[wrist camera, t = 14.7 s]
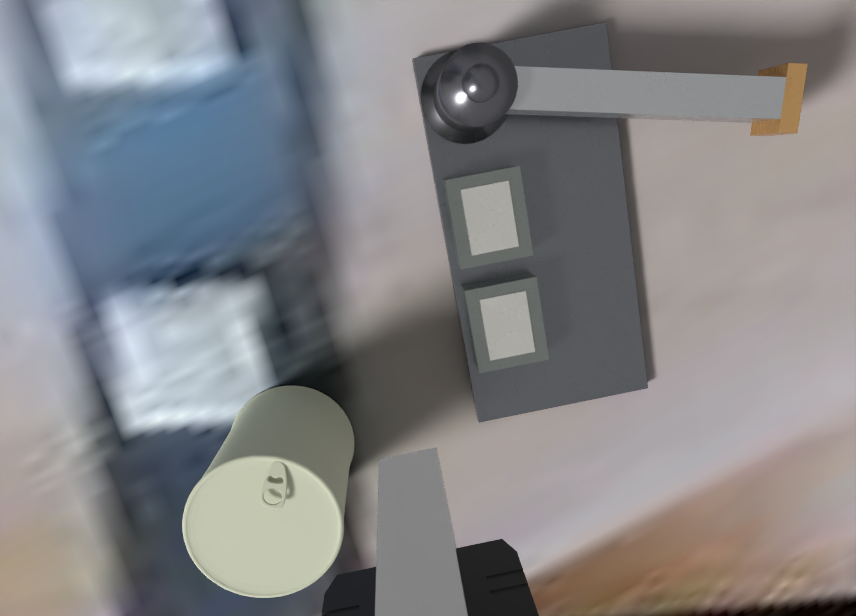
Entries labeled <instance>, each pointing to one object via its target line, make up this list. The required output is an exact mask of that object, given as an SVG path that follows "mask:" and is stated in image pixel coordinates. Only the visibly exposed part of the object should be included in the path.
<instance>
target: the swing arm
mask: <svg viewBox="0 0 856 616" xmlns="http://www.w3.org/2000/svg"><path fill="white" fill-rule="evenodd" d="M807 65H808V64H802V63H786V64H783V65H779V66H775V67H772V68H768V69H764V70H760V71H759V74H758V76H746V75H721V74H696V73H672V72H647V71H622V70H597V69H573V68H548V67H523V66H514V64H513V63H512V61H511V59H510V58H509V57H508V55H507V54H506V53H505V52H503V51H502V50H501V49H499V48H498V47H496V46H493V45H491V44H487V43H473V44H469V45H466V46H464V47H462V48H460V49H459V50H457V51H456V52H455V53H454V54H453V55H452V56H451V57H450V58H449V60H448V61H447V63H446V65H445V66H444V68H443V70H442V72H441V74H440V75H439V77H438V79H437V81H436V84H435V87H434V93H433V100H434V106H435V109H436V111H437V113H438V115H439V117H440V118H441V119H442V120H443V121H444V122H445V123H446V124H447V125H448V126H450V127H452V128H454V129H456V130H460V131H472V130H476V129H479V128H481V127H483V126H485V125H488V124H490V123H492V122H494V121H496V120H498V119H499V118H501V117H502V116H503V115H505V114H516V115H544V116H573V117H602V118H631V119H659V120H688V121H717V122H745V123H752V126H751V134H750V135H753V136H773V135H784V134H795V133H797V132H798V126H799V119H800V112H801V105H802V99H803V92H804V85H805V79H806V72H807Z"/></svg>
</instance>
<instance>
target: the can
mask: <svg viewBox="0 0 856 616" xmlns="http://www.w3.org/2000/svg"><path fill="white" fill-rule="evenodd" d="M353 454H354V434H353V429H352V426H351V424H350V421H349V419H348V417H347V416H346V414H345V412H344V411H343V410H342V408H341V407H340V406H339V405H338V404H337V403H336V402H335V401H333V400H332V399H331V398H330V397H328V396H327V395H325V394H323V393H321V392H319V391H317V390H314V389H311V388H308V387H303V386H292V385H289V386H280V387H275V388H271V389H269V390H266V391H264V392H262V393H260V394H258V395H256V396H255V397H253V398H252V399H251V400H250V401H248V402H247V403H246V404H245V405H244V407H243V408H242V409H241V410H240V412H239V413H238V415H237V416H236V418H235V420H234V423H233V425H232V429H231V431H230V433H229V435H228V436H227V438H226V440H225V441H224V443H223V445H222V446H221V448H220V450H219V451H218V453H217V455H216V456H215V458H214V460H213V461H212V463H211V464H210V466H209V468H208V469H207V471H206V472H205V474H204V475H203V477H202V478H201V480H200V481H199V482H198V483H197V484H196V486H195V487H194V489H193V490H192V492H191V494H190V496H189V498H188V500H187V503H186V505H185V509H184V514H183V523H182V528H183V536H184V541H185V544H186V548H187V550H188V552H189V554H190V557H191V558H192V560H193V561H194V563H195V564H196V566H197V567H198V568H199V569H200V571H201V572H202V573H203V574H204V575H205V576H207V577H208V578H209V579H210V580H211V581H213V582H214V583H216V584H217V585H219V586H221V587H222V588H224V589H226V590H229V591H231V592H234V593H237V594H240V595H244V596H249V597H257V598H271V597H279V596H284V595H288V594H291V593H294V592H297V591H299V590H301V589H303V588H305V587H307V586H309V585H310V584H312V583H314V582H315V581H316V580H317V579H319V578H320V577H321V576H322V575H323V574H324V573H325V572H326V571H327V570H328V569H329V567H330V566H331V565H332V563H333V562H334V560H335V558H336V556H337V554H338V552H339V550H340V547H341V544H342V539H343V534H344V509H345V500H346V491H347V483H348V475H349V468H350V464H351V461H352V458H353Z"/></svg>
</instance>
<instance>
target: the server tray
mask: <svg viewBox="0 0 856 616" xmlns="http://www.w3.org/2000/svg"><path fill="white" fill-rule="evenodd" d="M491 45H493V46H496V47H498V48H499V49H501V50H502V51H503V52H505V53H506V54H507V55H508V57H509V58H510V59H511V61H512V63H513V64H514V66H523V67H548V68H573V69H597V70H612V68H611V59H610V50H609V41H608V33H607V24H606V22H604V23H599V24H593V25H588V26H583V27H578V28H572V29H567V30H562V31H556V32H551V33H546V34H540V35H535V36H530V37H525V38H519V39H514V40H509V41H503V42H498V43H493V44H491ZM456 51H457V50H454V51H451V52H445V53H440V54H435V55H429V56H424V57H419V58H413V60H412V62H413V67H414V73H415V78H416V84H417V89H418V95H419V100H420V106H421V111H422V117H423V122H424V128H425V133H426V139H427V144H428V150H429V155H430V161H431V166H432V172H433V177H434V183H435V188H436V194H437V199H438V205H439V210H440V216H441V221H442V227H443V232H444V238H445V243H446V249H447V254H448V260H449V265H450V271H451V276H452V281H453V287H454V292H455V298H456V303H457V309H458V314H459V320H460V325H461V331H462V336H463V342H464V347H465V353H466V358H467V364H468V369H469V375H470V380H471V386H472V391H473V397H474V402H475V408H476V413H477V419H478V421H479V422H484V421H489V420H493V419H498V418H503V417H508V416H513V415H518V414H523V413H528V412H533V411H538V410H543V409H548V408H552V407H557V406H562V405H567V404H572V403H577V402H582V401H587V400H592V399H597V398H602V397H606V396H611V395H616V394H621V393H626V392H631V391H636V390H641V389H646V388H648V385H647V376H646V367H645V359H644V350H643V341H642V332H641V323H640V315H639V306H638V297H637V288H636V279H635V270H634V262H633V253H632V244H631V235H630V226H629V218H628V209H627V200H626V191H625V182H624V174H623V165H622V156H621V147H620V138H619V130H618V121H617V118H602V117H573V116H544V115H516V114H505V115H503V116H502V117H501V118H499V119H498V120H496V121H494V122H492V123H490V124H488V125H485V126H483V127H481V128H479V129H476V130H472V131H460V130H456V129H454V128H452V127H450V126H448V125H447V124H446V123H445V122H444V121H443V120H442V119H441V118H440V117H439V115H438V113H437V111H436V109H435V106H434V100H433V93H434V87H435V84H436V81H437V79H438V77H439V75H440V74H441V72H442V70H443V68H444V66H445V65H446V63H447V61H448V60H449V58H450V57H451V56H452V55H453V54H454V53H455V52H456Z"/></svg>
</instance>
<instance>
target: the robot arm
mask: <svg viewBox="0 0 856 616" xmlns="http://www.w3.org/2000/svg"><path fill="white" fill-rule="evenodd" d="M322 616H539V615H538V612H537V609H536V606H535V603H534V600H533V597H532V595H531V592H530V589H529V587H528V583H527V580H526V577H525V574H524V572H523V568H522V565H521V563H520V560H519V557H518V554H517V551H515V550H514V549H513V548H512V547H511V546H510V545H508V544H507V543H506V542H505V541H504V540H503V539H499V540H494V541H490V542H485V543H480V544H475V545H470V546H466V547H461V548H457V547H456V542H455V537H454V532H453V527H452V522H451V517H450V512H449V507H448V502H447V497H446V492H445V487H444V482H443V477H442V472H441V467H440V462H439V457H438V452H437V448H432V449H427V450H422V451H417V452H412V453H407V454H402V455H397V456H392V457H388V458H383V459H379V475H378V515H377V554H376V567H373V568H369V569H364V570H359V571H354V572H349V573H345V574H340V575H337V576H336V577H335V579H334V580H333V582H332V583H331V585H330V586H329V588H328V589H327V591H326V592H325V595H324V602H323V609H322Z"/></svg>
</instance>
